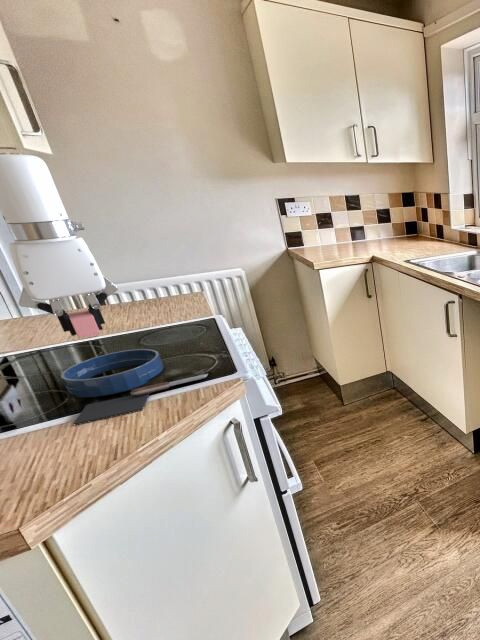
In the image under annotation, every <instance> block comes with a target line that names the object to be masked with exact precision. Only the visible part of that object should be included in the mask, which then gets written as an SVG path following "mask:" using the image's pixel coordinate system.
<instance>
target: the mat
mask: <svg viewBox="0 0 480 640" xmlns="http://www.w3.org/2000/svg"><path fill="white" fill-rule="evenodd" d="M149 394H151V393H147V394H143V395H139V396H132V395H131V394H130V395H127V396H123V397H122V396H121V397H117V398H113V399H107V400H103V401H98V402H93V403H88V404H86V405H85V406H84V408H83V409H82V411H81V412H80V413H79V415H78V416H77V418H76V419H75V420H74V421H73V423H72V425H73V426H75V425H74V424H78V425H80V424H79V423H83V424H85V423H84V422H87V423H89V422H88V421H92V422H94V421H93V420H96V421H98V420H97V419H101V420H103V419H102V418H105V419H107V418H106V417H110V418H112V417H111V416H114V417H116V416H115V415H119V416H121V415H120V414H123V415H125V414H124V413H128V414H130V413H129V412H132V413H134V412H133V411H137V412H139V411H138V410H141V411H143V410H144V408H145V406H146V404H147V402H146V401H148V400H147V398H148V399H149V397H150V395H149ZM148 396H149V397H148ZM145 403H146V404H145ZM144 405H145V406H144ZM143 407H144V408H143ZM142 409H143V410H142Z"/></svg>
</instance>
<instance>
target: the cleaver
mask: <svg viewBox="0 0 480 640" xmlns="http://www.w3.org/2000/svg"><path fill="white" fill-rule="evenodd" d="M208 375H209V373H204V374H199V375H195V376H190V377H186V378H182V379H177V380H173V381H164V382H158V383H155V384H151V385H146V386H141V387H137V388H134V389H131V390H130V392H129V393H130V396H131V395H132V396H139V395H143V394H147V393H150V394H151V393H154V392H159V391H162V390H167V389H169V388H170V387H173V386H176V385H177V386H178V385H181V384H185V383H190V382H193V381H199V380H203V379H205V378H207V377H208Z"/></svg>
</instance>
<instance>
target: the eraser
mask: <svg viewBox="0 0 480 640" xmlns="http://www.w3.org/2000/svg"><path fill="white" fill-rule="evenodd" d="M66 313H67V314H68V315H69V317H70V318H69V319H70V321H71V323H72V325H73V327H74V330H75V332H76V335H75V336H77V338H79V339H80V338H81V339H82V338H85V337H90V336H94V335H99V334H101V330H99V329H98V326H97V324H96V322H95V319H94V317H93V315H92V314H91V313H90V312H89V311H88V309H83V310H76V311H72V312H66Z"/></svg>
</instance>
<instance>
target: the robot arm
mask: <svg viewBox="0 0 480 640" xmlns="http://www.w3.org/2000/svg"><path fill="white" fill-rule="evenodd" d="M0 213H1V216H2V218H3V220H4V222H5V223H6V226H7V228H8V230H9V233H10V235H11V237H12V239H13V241H14V242H10V243H8V246H9V251H10V256H11V259H12V261H13V265H14V267H15V270H16V272H17V274H18V278H19V279H20V282H21V285H22V289H21V292H20V296H19V298H18V299H19V300H18V305H19V306H20V307H23V308H29V309H35V310H36V309H37V310H41V311H43V312H46V313H48V314H52V315H53V316H55V317H57V319H58V322H59V324H60V326H61V328H62V330H63V332H64V333H66V332H69V333H70V335H71V337H74V336H77V335H76V332H75V330H74V327H73V325H72V323H71V321H70V319H69V318H70V317H69V315H68V314H67V313H68V312H66V310H65V309H63V307H62V303H61V301H60V299H63V298H69V297H70V298H71V297H75V296H80V295H81V296H84V297H85V299H86V301H87V303H88V305H87V306H88V308H87V310H88V311H89V312H90V313H91V314H92V315H93V317H94V319H95V322H96V324H97V326H98V329H99V331H102V330H103V329H104V328H103V326H102V325H104V324H106V322H105V319H104V316H103V314H102V312H101V310H100V308H101V306H102V305H103V303H104V302H105V301H106V300H107V298H108V297H111V295H113V294H114V293H116V292H117V291H118V290H119V287H118V286H117V285H115V284H114V283H113V282H112V281H110V280H109V278H107V277H105V276H104V275H103V273H102V271H101V268H100V267H99V264H98V262H97V261H96V258H95V256H94V255H93V253H92V252H91V250H90V248H89V246H88V244H87V243H86V241H85V240H84V238H83V237H82V236H77V234H76V233H78V232H79V231H84V230H85V227H84V224H83V223H82V222H81V221H80V222H76V221H72V220H71V219H70V218H69V216H68V213H67V211H66V208H65V206H64V204H63V201H62V199H61V196H60V194H59V191H58V189H57V186H56V183H55V181H54V179H53V176H52V174H51V172H50V168H49V167H48V165H47V163H46V162H45V161H44V159H42V158H41V157H39V156H36V155H33V154H23V153H22V154H19V153H18V154H17V153H13V154H12V153H4V154H3V153H2V154H1V153H0ZM97 292H98V293H97ZM95 293H96V295H95ZM45 301H48V302H45Z"/></svg>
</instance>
